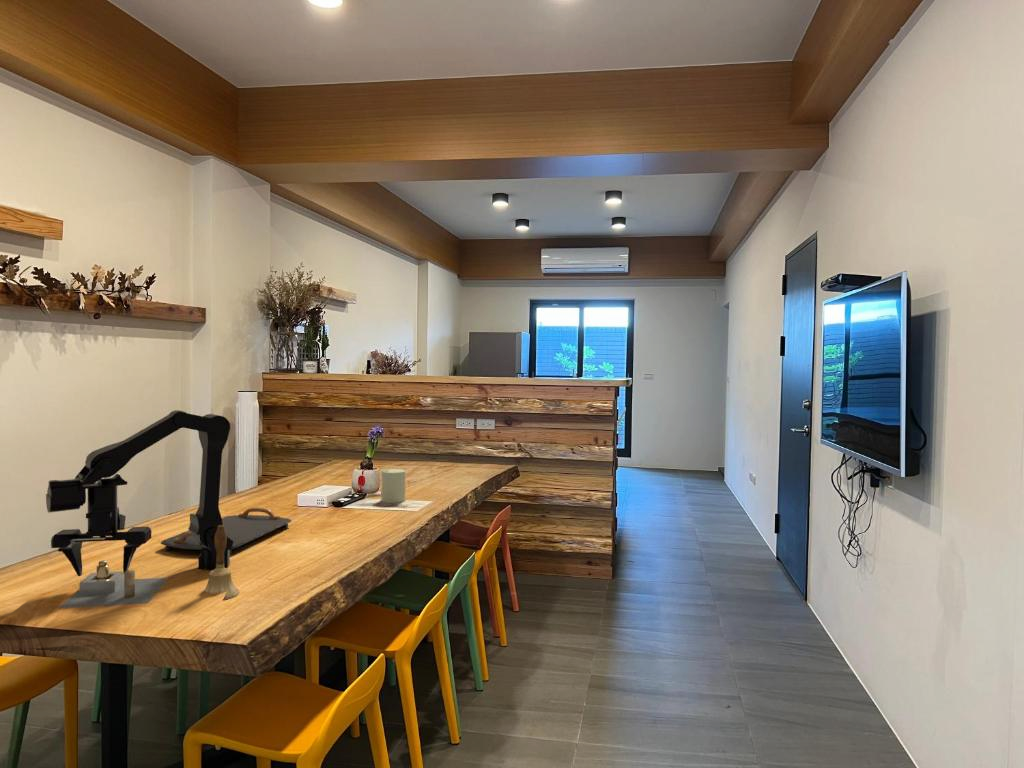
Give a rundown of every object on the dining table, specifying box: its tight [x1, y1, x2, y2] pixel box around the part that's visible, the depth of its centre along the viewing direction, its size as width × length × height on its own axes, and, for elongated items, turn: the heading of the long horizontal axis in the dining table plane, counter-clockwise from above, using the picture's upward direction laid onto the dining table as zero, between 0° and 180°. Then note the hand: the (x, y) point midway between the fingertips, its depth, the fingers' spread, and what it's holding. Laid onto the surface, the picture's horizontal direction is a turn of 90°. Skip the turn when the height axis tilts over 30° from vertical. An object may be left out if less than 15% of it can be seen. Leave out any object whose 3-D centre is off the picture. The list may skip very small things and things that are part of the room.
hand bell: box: [204, 525, 240, 601], centre depth 152 cm, size 8×8×16 cm
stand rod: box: [124, 569, 136, 598], centre depth 146 cm, size 2×2×6 cm
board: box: [57, 576, 169, 610], centre depth 149 cm, size 17×17×2 cm
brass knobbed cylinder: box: [96, 560, 110, 580], centre depth 151 cm, size 2×2×6 cm
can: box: [380, 468, 407, 504], centre depth 256 cm, size 9×9×12 cm
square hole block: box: [78, 570, 124, 594], centre depth 151 cm, size 7×7×2 cm
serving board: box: [160, 507, 292, 556], centre depth 200 cm, size 39×23×6 cm, turn 170°
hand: (102, 574), depth 151 cm, fingers open, 9 cm apart
